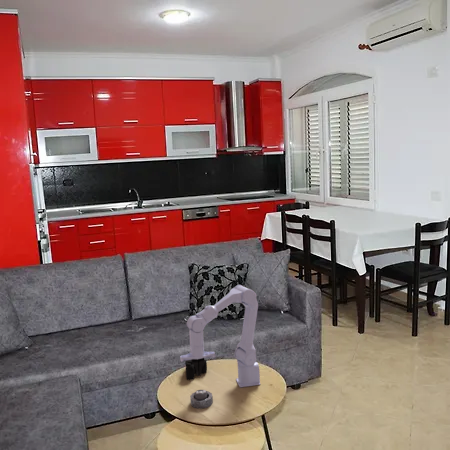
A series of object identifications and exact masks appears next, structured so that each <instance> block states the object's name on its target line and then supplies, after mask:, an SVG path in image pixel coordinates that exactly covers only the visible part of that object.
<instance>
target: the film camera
mask: <svg viewBox="0 0 450 450" xmlns="http://www.w3.org/2000/svg"><path fill="white" fill-rule="evenodd" d="M197 360H198V359H197ZM204 360H205V362H204V365H203V367H202V370H201V374H204V373H207V372H208V364H207V363H208V362H207V361H208V359H204ZM184 364H185V379H186V380H187V381H192V380H194V378H195V377H196V376H195V375H197V372H196V369H195V367H194V365H193V363H192V360H186V361H184Z"/></svg>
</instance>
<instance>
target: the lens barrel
mask: <svg viewBox="0 0 450 450" xmlns="http://www.w3.org/2000/svg"><path fill="white" fill-rule="evenodd" d="M206 391H207V399H205V400H196V399H195V392H196V391H194V392H192V393H191V395H190V406H191V407H192V408H194V409H200V410H202V409H207V408H208V407H209V408H210V407H211V406H213V405H212V404H213V403H214V399H213V393H212V392H210V391H208V390H206Z"/></svg>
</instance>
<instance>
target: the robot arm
mask: <svg viewBox="0 0 450 450" xmlns="http://www.w3.org/2000/svg"><path fill="white" fill-rule="evenodd" d="M257 296H258V295H257V293H256V292H255V291H254V290H253V289H251V288H247V287H245V286H243V285H241V284H237V285H236V286H234V287H233V288H231V289H230V290H229V292H228V293H227V294H226V295H225V296H223V297H222V298H221V299H219V301H217V302H216V303H215V304H214V305H210V304H209V305H206V306H205V307H204V308H203V309H202V310H201V311H199V312H197V313H196V314H195V315H190V316H189V317H188V319H187V322H186V323H185V324H186V327H187V328H188V329H189V330H188V331H189V333H188V334H189V348H190V353H187V354H183V355H180V356H179V358H180V362H181V363H183V362H185V361H186V360H192V363H193V365H194V367H195V369H196V372H197V374H196V377H201V376H202V373H201V370H202V367H203V365H204V362H205V360H206V359H207V358H208V359H209V358H216V352H215V351H205V345H204V344H205V343H204V329H205V328H206V326H207V324H209V323H210V322H211V321H213V320H214V319H216V318H217V317H218V314H219V312H221V311H222V310H224V309H225V308H227V307H228V306H229V307H230V305H231V304H234V303H237V304H242V305H243V306H244V307H245V309H244V315H243V316H244V317H243V323H242V324H243V325H242V328H241V329H242V330H241V331H242V332H241V335H240V336H241V337H240V342H238V343H237V345H236V348H235V350H234V358H235V359H236V362H237V378H235V380H236V382H237V384H238V387H239V388H245V387H246V388H247V387H252V386H258V385H259V386H260V385H261V379H260V378H261V377H260V376H261V375H260V373H261V372H260V366H259V362H257V354H256V353H257V349H256V348H255V346H254V339H255V331H256V323H257V318H258V309H259V303H258V299H257ZM197 359H198V360H197Z"/></svg>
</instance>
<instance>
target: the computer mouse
mask: <svg viewBox="0 0 450 450" xmlns="http://www.w3.org/2000/svg"><path fill="white" fill-rule="evenodd" d="M207 391H208V390H206V389H198V390H196V391H194V392H195V399H196V400H205V399H207Z"/></svg>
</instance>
